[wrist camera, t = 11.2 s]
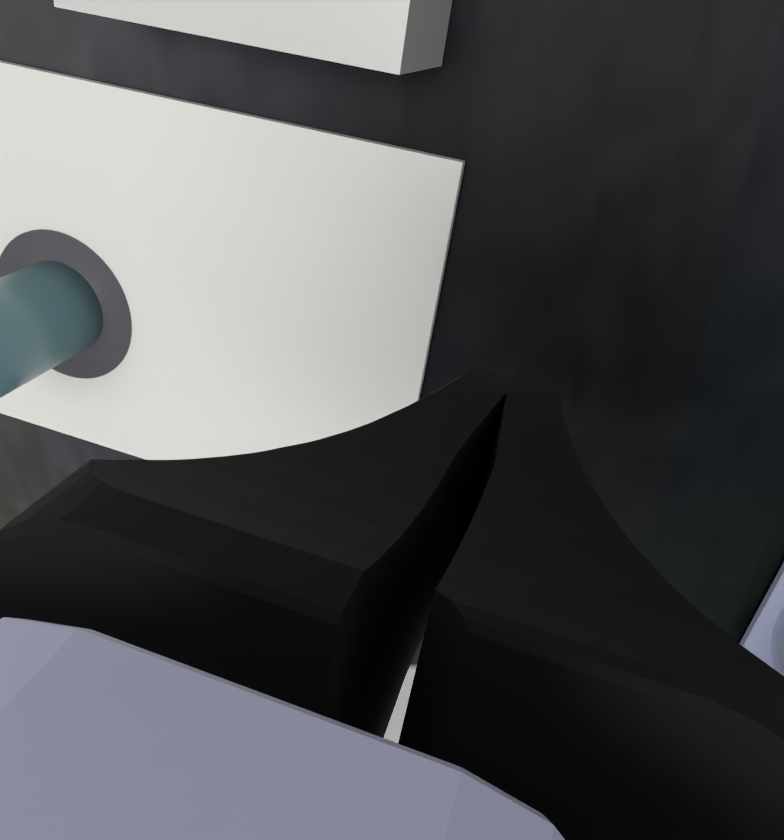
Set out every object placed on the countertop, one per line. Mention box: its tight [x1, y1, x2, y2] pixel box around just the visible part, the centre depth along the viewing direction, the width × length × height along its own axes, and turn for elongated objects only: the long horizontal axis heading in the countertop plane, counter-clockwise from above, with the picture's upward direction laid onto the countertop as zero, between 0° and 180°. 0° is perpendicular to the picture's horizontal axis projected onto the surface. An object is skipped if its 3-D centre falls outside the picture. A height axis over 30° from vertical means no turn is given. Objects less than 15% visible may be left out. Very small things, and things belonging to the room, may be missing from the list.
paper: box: [0, 60, 465, 460], centre depth 23 cm, size 16×12×1 cm
